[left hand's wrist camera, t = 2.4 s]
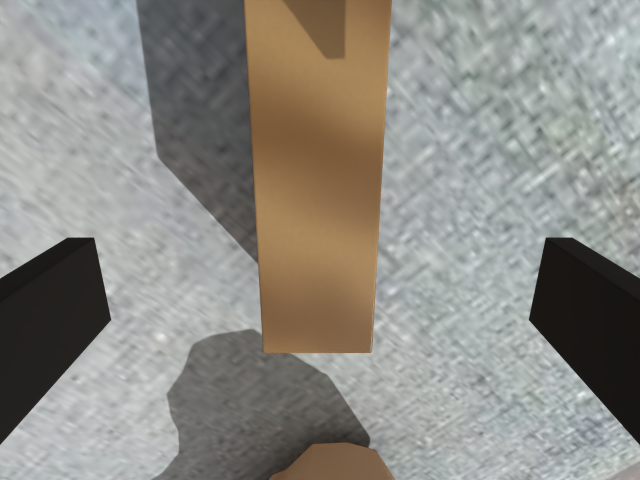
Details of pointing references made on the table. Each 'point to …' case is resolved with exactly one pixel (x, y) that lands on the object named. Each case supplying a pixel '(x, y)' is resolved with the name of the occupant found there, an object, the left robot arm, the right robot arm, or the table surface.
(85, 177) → the table surface
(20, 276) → the left robot arm
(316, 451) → the squash
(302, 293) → the bar
